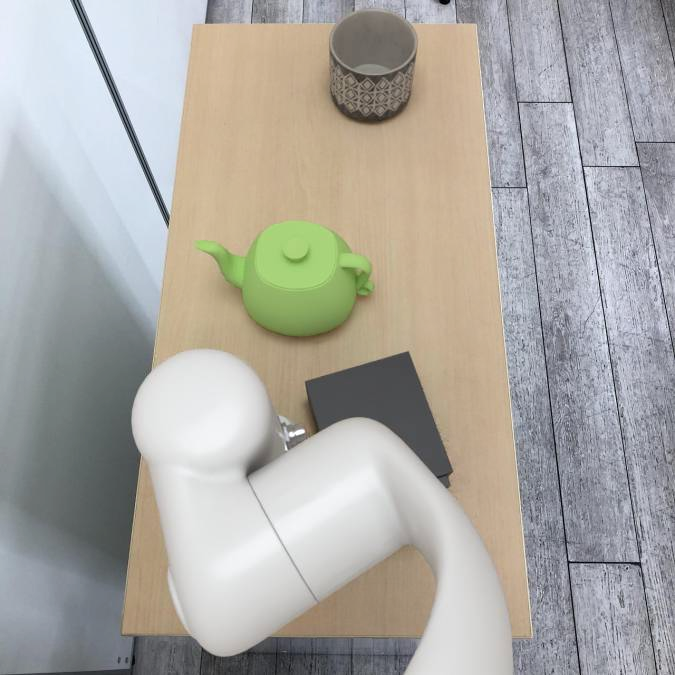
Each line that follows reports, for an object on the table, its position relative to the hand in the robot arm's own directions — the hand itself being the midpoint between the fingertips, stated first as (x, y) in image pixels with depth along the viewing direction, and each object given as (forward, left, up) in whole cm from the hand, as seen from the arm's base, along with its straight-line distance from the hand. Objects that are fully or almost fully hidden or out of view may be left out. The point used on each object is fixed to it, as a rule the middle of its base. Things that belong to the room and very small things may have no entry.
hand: (265, 494), depth 61 cm
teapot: (+28, -9, -16) cm, 33 cm away
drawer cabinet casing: (+5, -13, -16) cm, 21 cm away
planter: (+58, -30, -16) cm, 67 cm away
